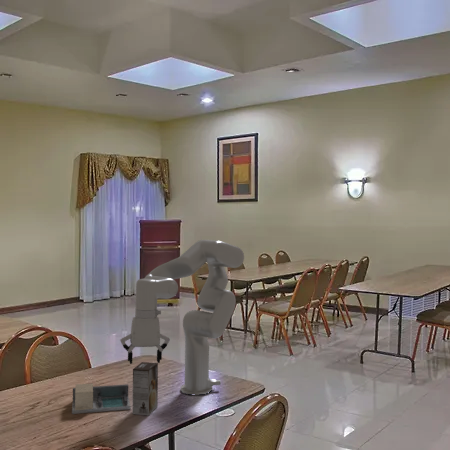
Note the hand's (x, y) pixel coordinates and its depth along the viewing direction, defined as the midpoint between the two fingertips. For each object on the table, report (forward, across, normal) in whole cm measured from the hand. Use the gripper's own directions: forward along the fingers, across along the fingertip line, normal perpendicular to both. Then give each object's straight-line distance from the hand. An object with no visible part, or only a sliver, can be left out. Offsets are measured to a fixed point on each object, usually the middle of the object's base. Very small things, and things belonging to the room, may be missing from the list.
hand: (144, 362), depth 191 cm
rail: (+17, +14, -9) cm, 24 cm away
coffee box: (+18, -1, -1) cm, 18 cm away
